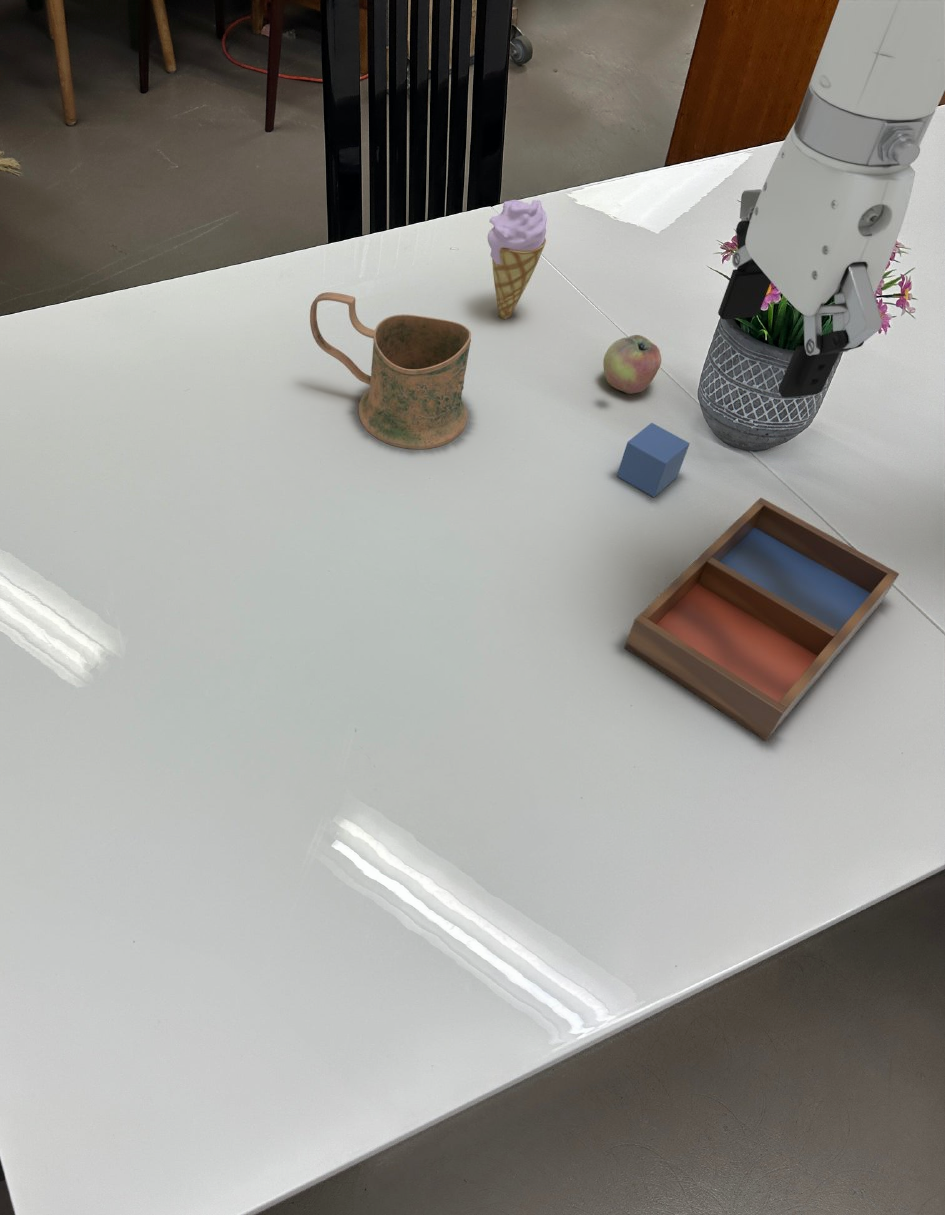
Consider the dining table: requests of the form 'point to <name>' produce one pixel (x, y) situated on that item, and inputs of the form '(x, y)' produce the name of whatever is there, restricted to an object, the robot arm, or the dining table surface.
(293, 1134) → the dining table surface
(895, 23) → the robot arm
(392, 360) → the mug
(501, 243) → the ice cream cone
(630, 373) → the apple
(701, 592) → the sorting tray
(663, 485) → the blue block
